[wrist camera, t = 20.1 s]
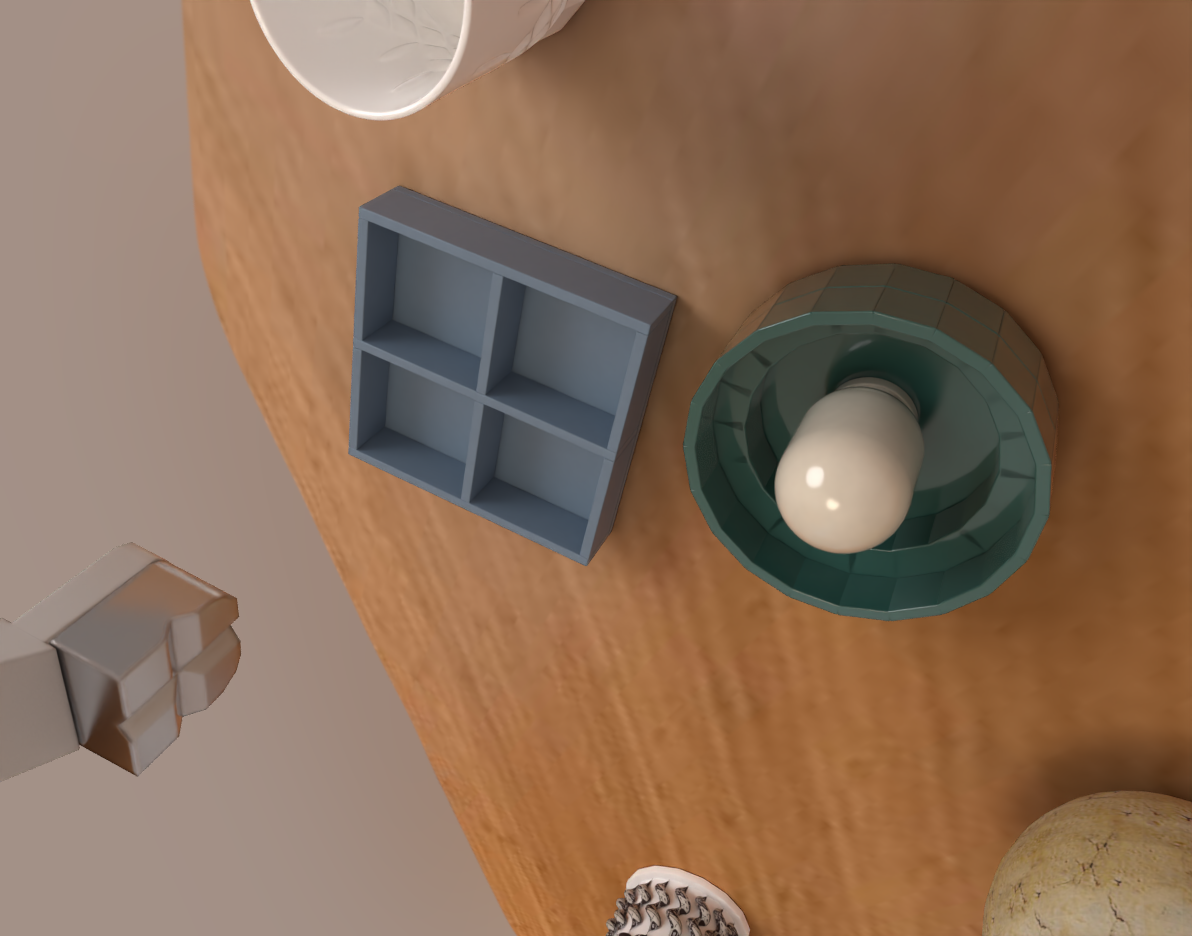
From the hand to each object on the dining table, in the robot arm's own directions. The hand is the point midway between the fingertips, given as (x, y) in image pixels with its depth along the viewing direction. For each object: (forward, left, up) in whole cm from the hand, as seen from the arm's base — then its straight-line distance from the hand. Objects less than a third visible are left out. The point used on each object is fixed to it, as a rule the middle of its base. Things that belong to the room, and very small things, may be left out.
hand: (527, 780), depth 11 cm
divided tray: (+9, -19, -29) cm, 36 cm away
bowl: (+11, -2, -29) cm, 31 cm away
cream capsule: (+11, -2, -28) cm, 31 cm away
